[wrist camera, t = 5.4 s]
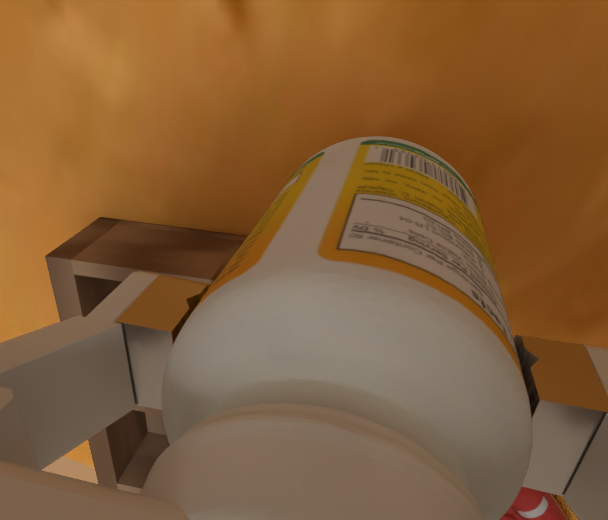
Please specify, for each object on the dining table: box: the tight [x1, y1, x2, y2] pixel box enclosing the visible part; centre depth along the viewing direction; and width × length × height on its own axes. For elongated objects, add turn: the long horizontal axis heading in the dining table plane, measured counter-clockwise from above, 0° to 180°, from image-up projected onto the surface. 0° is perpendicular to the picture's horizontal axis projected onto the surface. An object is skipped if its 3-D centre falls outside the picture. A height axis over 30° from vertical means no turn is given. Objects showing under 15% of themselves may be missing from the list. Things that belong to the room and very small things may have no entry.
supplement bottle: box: [140, 136, 533, 520], centre depth 9 cm, size 5×5×10 cm
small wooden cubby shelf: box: [45, 217, 248, 495], centre depth 27 cm, size 9×16×4 cm, turn 177°
